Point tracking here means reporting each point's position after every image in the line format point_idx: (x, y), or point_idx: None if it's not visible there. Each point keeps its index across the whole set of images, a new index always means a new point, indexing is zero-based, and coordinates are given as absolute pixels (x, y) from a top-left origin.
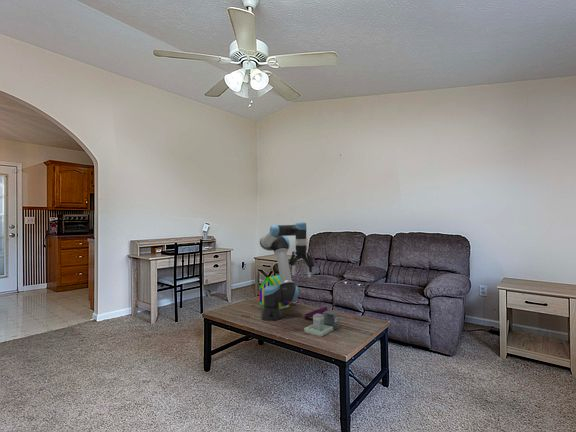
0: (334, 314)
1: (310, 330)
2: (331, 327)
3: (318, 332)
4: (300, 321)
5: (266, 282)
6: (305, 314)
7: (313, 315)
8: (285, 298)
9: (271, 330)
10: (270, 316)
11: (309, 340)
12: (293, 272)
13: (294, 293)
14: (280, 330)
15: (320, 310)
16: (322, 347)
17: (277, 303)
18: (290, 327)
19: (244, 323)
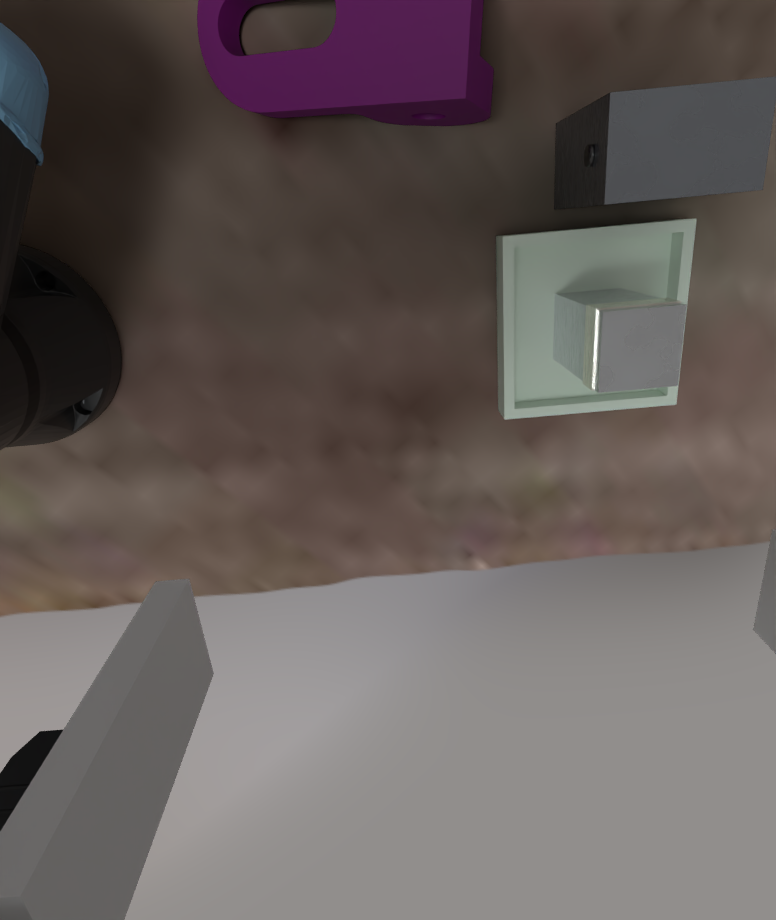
0: (763, 170)
1: (565, 412)
2: (690, 244)
3: (643, 406)
4: (294, 230)
5: None
6: (258, 112)
7: (602, 392)
8: (9, 282)
9: (294, 545)
10: (73, 414)
11: (624, 502)
12: (183, 708)
13: (3, 128)
14: (340, 504)
15: (474, 63)
16: (752, 529)
17: (8, 366)
18: (346, 410)
19: (32, 580)
